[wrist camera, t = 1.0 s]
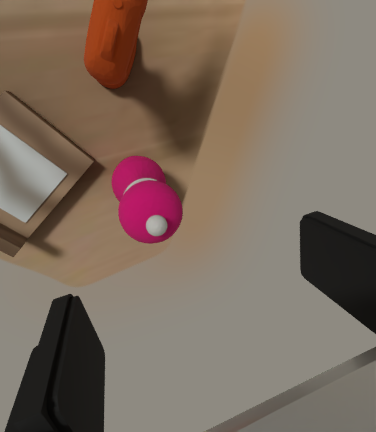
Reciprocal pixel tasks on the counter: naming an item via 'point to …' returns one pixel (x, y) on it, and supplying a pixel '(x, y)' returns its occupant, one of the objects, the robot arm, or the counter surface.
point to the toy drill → (113, 40)
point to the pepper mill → (145, 200)
